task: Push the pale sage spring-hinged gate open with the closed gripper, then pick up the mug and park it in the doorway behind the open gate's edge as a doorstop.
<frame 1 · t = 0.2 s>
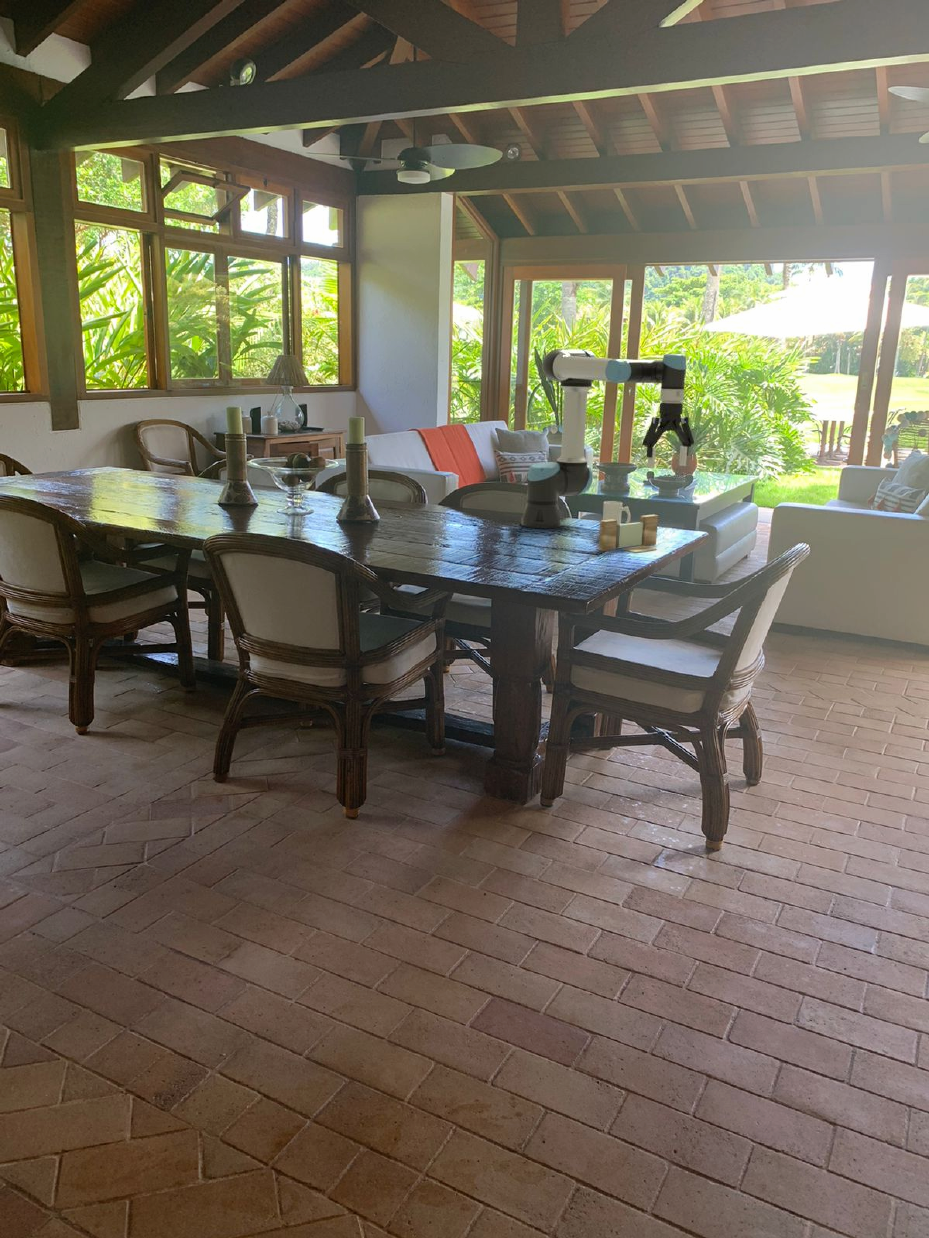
hand: (666, 466, 315), 27 cm above the table, fingers open, 13 cm apart
gate frame: (626, 547, 319), on the table
gate door: (628, 534, 318), point 4 cm above the table, hinge at 0.0°
mug: (615, 536, 338), on the table
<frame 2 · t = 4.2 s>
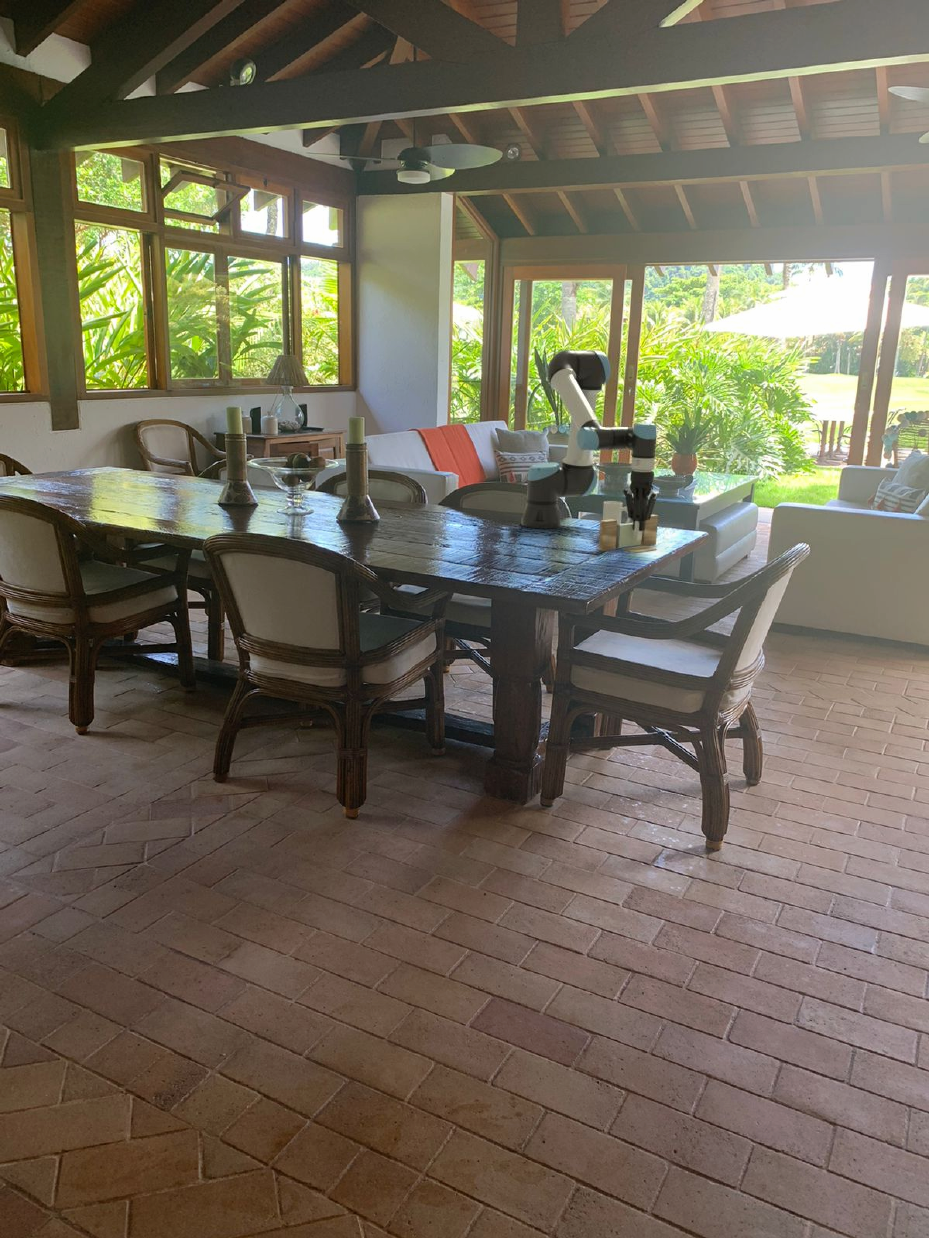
hand: (637, 539, 317), 3 cm above the table, fingers closed
gate door: (628, 534, 318), point 4 cm above the table, hinge at 1.1°, touching gripper
everything else where it was.
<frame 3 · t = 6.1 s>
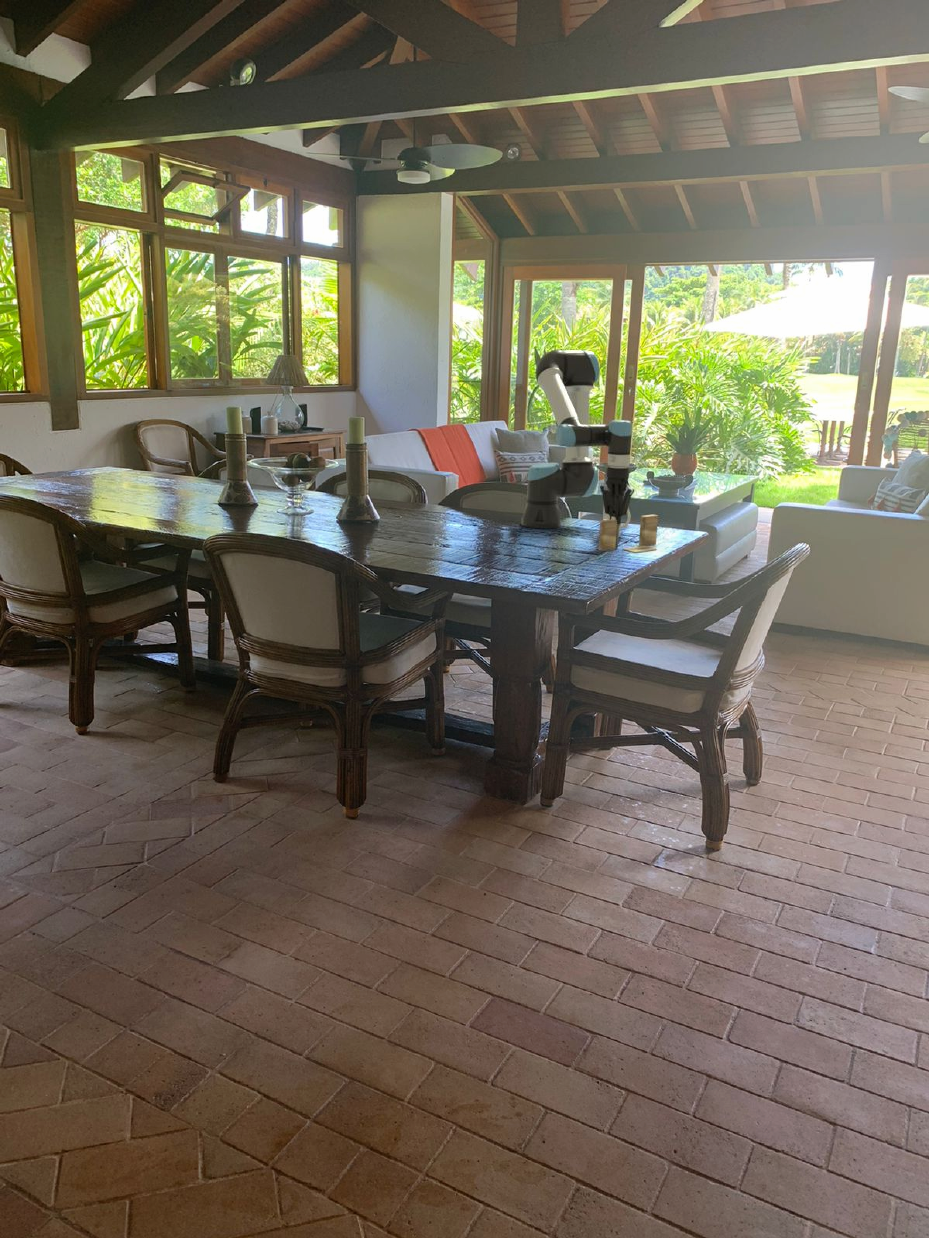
hand: (614, 535, 323), 3 cm above the table, fingers closed
gate door: (610, 533, 320), point 4 cm above the table, hinge at 69.3°, touching gripper
everything else where it was.
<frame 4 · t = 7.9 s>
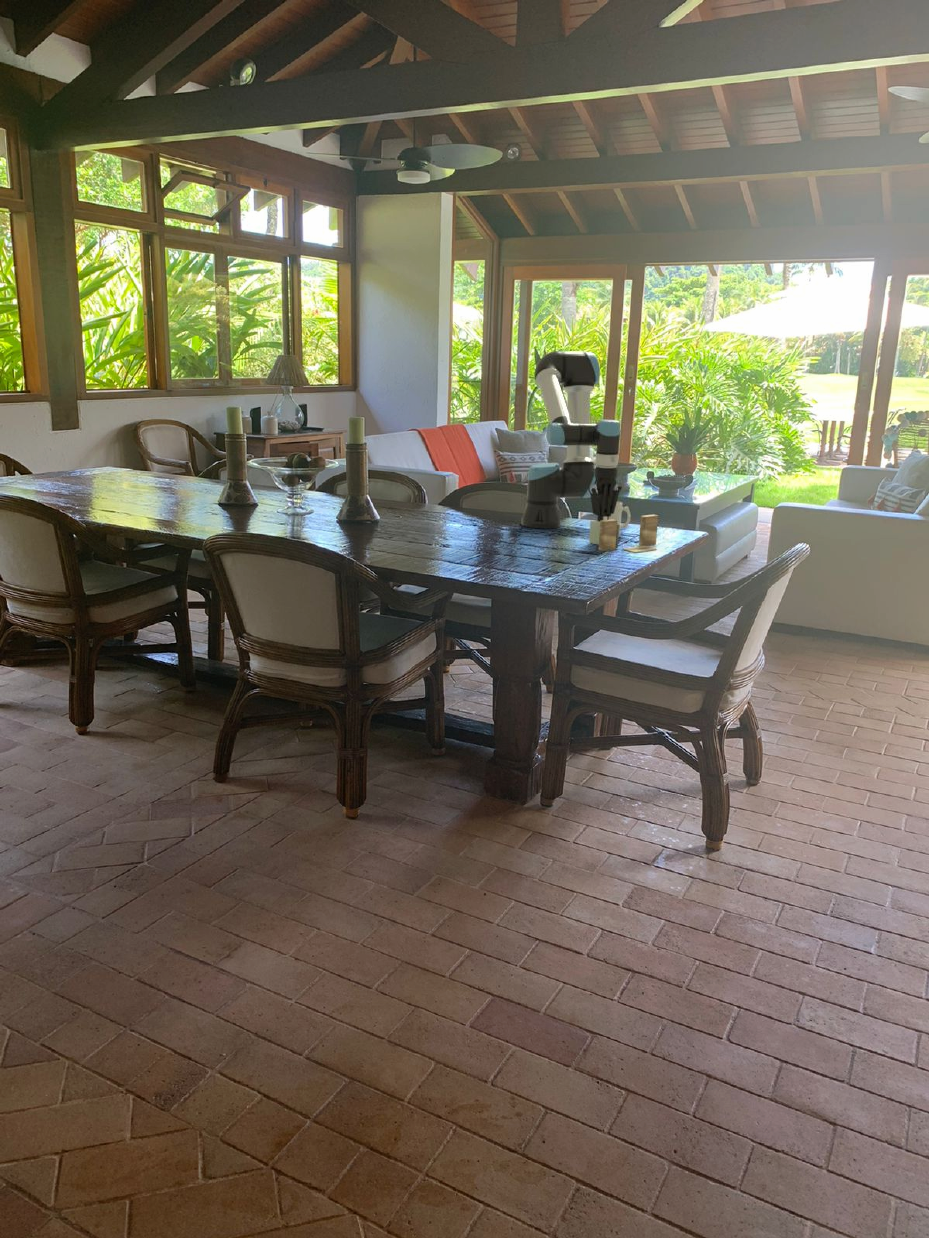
hand: (602, 534, 324), 3 cm above the table, fingers closed
gate door: (604, 533, 319), point 4 cm above the table, hinge at 97.7°
everything else where it was.
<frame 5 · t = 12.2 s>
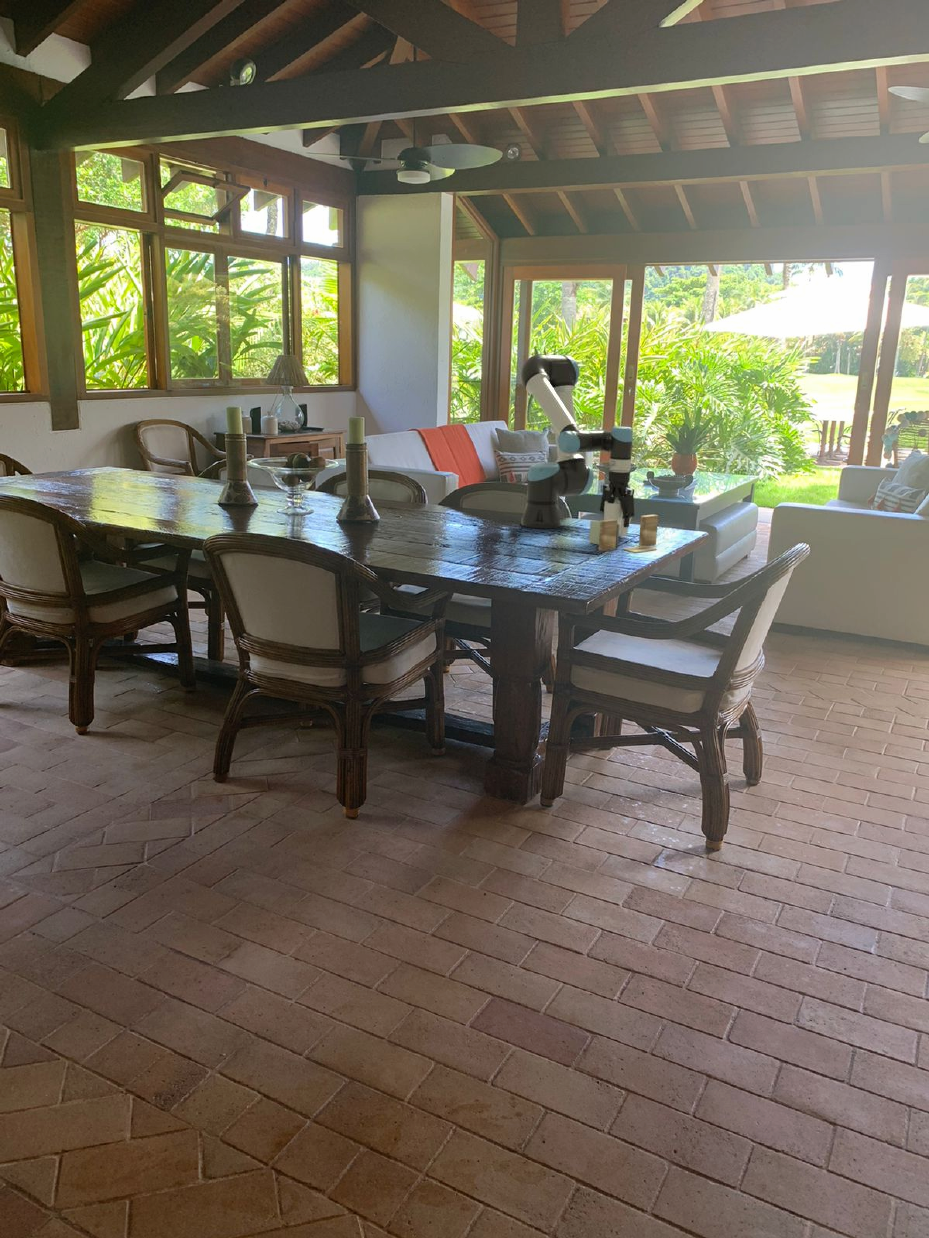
hand: (615, 533, 338), 1 cm above the table, fingers closed on mug, 8 cm apart
mug: (616, 536, 338), on the table, touching gripper
everything else where it was.
when the fingers open (2 cm above the table, at t = 17.6 s): mug drops 2 cm, on the table.
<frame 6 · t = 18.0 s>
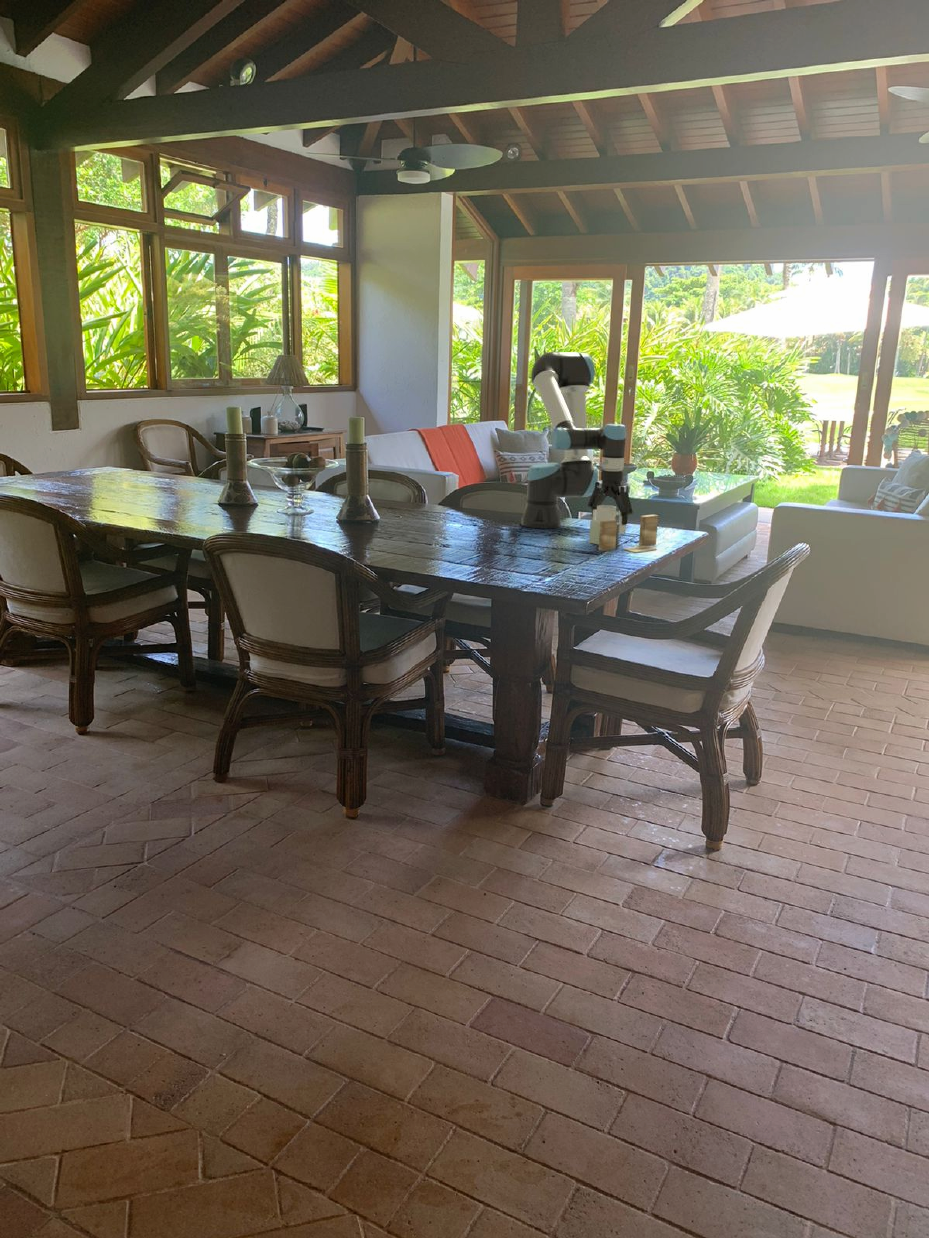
hand: (608, 530, 328), 4 cm above the table, fingers open, 13 cm apart
mug: (608, 541, 329), on the table
everything else where it was.
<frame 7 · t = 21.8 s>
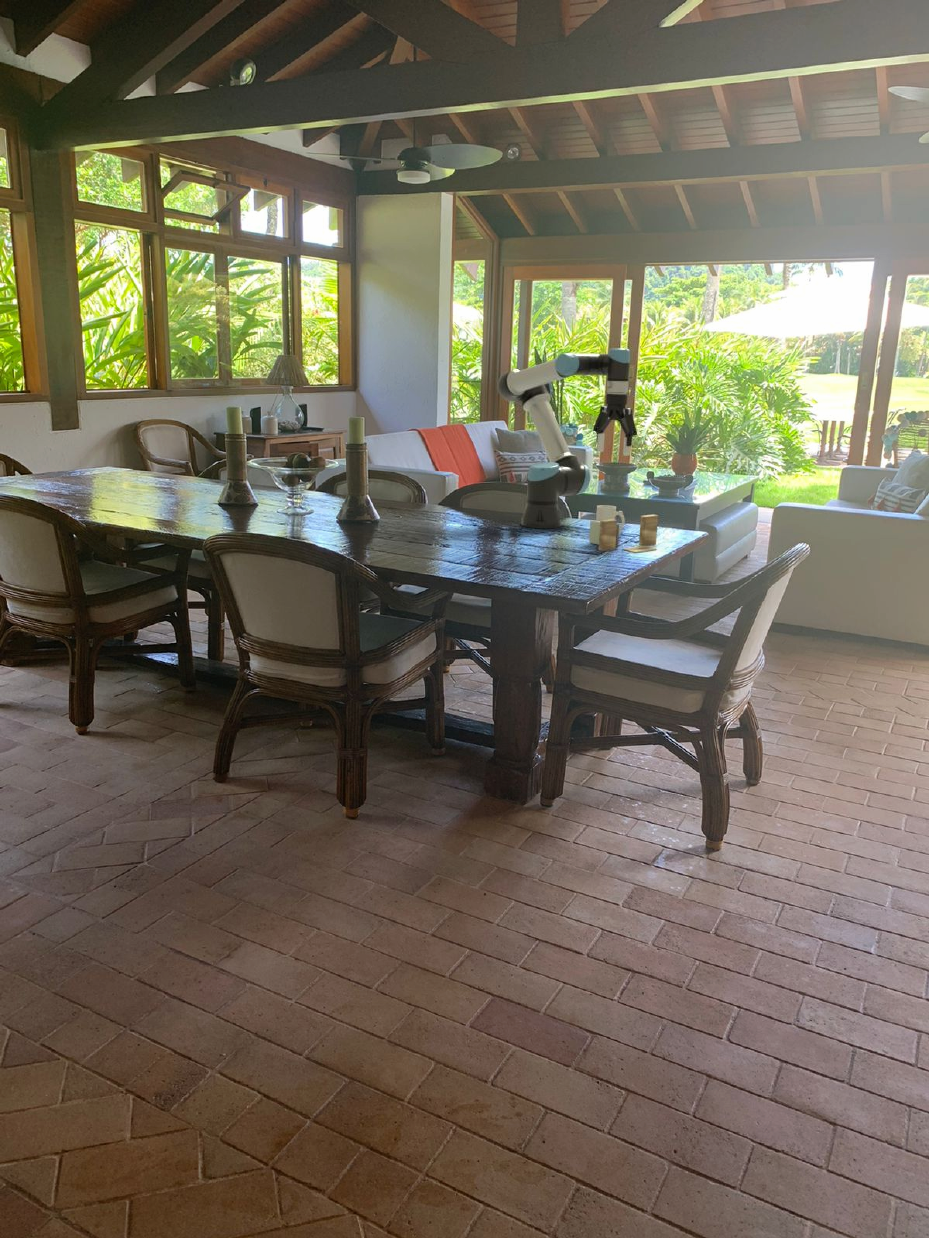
hand: (613, 453, 338), 29 cm above the table, fingers open, 13 cm apart
nothing on the table moved.
at the end: gate door at +98° (first picture: +0°); mug inside the target area (0.4 cm from its centre), on the table; mug tilted 0° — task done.
